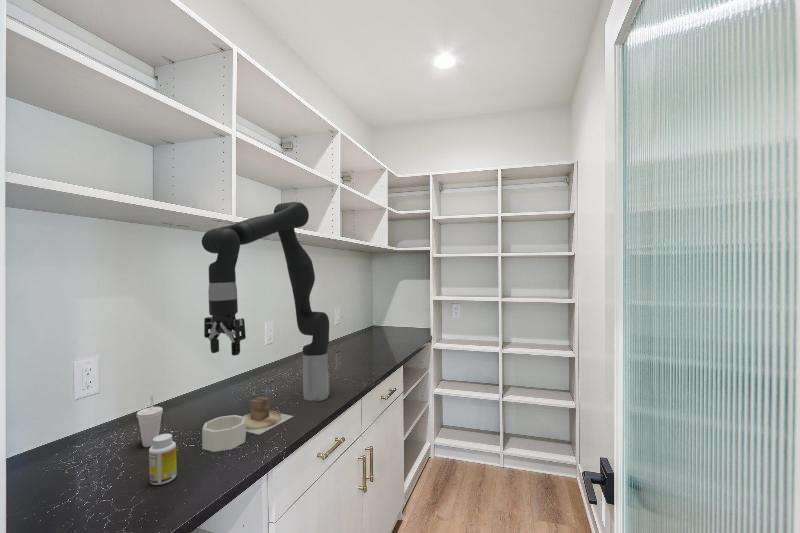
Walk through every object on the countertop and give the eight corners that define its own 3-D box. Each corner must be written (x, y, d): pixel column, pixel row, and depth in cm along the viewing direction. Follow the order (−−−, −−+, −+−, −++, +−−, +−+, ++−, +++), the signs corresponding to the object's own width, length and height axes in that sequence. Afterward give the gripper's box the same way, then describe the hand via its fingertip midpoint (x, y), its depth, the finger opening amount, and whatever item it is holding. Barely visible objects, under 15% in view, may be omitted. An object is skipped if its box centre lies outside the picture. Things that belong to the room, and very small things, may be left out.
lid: (260, 410, 132) (260, 390, 132) (289, 416, 126) (288, 395, 126) (229, 425, 120) (228, 403, 120) (259, 432, 114) (258, 409, 114)
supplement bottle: (180, 472, 94) (179, 431, 94) (171, 484, 89) (170, 441, 89) (155, 474, 93) (155, 433, 93) (144, 487, 88) (144, 443, 88)
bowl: (227, 432, 116) (227, 413, 116) (253, 439, 111) (253, 419, 111) (194, 448, 106) (194, 427, 106) (221, 456, 101) (221, 434, 101)
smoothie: (168, 441, 111) (167, 394, 111) (144, 451, 105) (143, 401, 105) (156, 437, 114) (155, 390, 114) (132, 446, 108) (131, 397, 108)
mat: (260, 411, 133) (260, 409, 133) (293, 417, 127) (293, 416, 127) (224, 427, 120) (224, 425, 120) (259, 436, 113) (259, 434, 113)
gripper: (251, 297, 109) (253, 352, 110) (217, 296, 116) (219, 348, 116) (229, 300, 103) (231, 359, 103) (194, 298, 109) (197, 354, 109)
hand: (225, 353), depth 110 cm, fingers open, 8 cm apart
